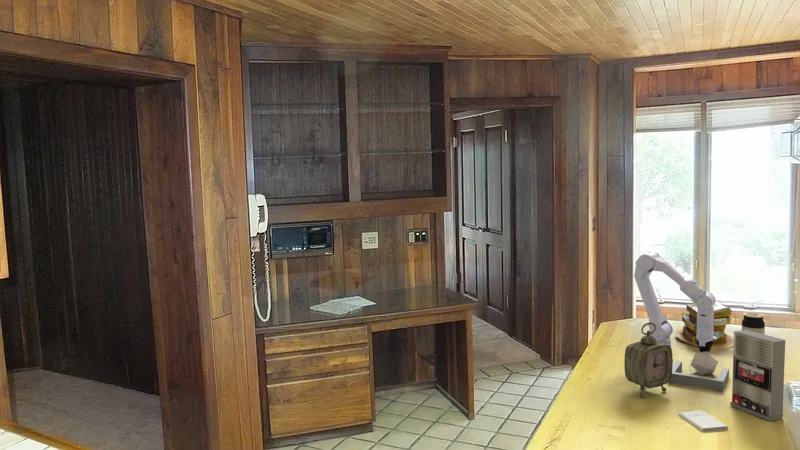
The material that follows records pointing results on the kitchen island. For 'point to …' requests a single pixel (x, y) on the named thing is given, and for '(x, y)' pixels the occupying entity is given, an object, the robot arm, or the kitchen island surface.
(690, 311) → the stack of yellow books
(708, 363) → the die
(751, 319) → the travel mug
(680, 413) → the external hard drive
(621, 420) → the kitchen island surface
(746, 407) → the cassette tape recorder
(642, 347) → the tabletop clock
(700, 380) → the grey bracket
